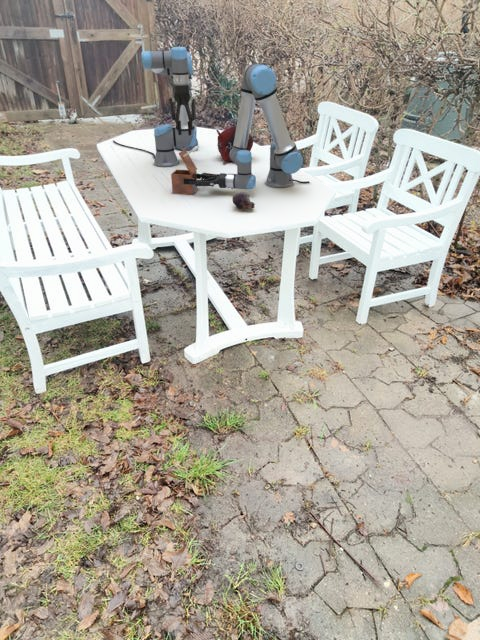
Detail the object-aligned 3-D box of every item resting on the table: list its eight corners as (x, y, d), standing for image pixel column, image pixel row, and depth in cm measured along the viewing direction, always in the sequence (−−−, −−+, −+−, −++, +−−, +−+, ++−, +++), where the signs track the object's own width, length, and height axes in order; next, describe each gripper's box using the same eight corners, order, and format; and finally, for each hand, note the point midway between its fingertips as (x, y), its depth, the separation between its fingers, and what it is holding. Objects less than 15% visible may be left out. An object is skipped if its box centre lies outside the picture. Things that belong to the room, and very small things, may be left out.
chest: (172, 193, 246) (170, 174, 240) (177, 188, 254) (176, 169, 248) (192, 194, 244) (191, 175, 238) (197, 189, 252) (196, 170, 246)
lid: (178, 153, 233) (191, 145, 230) (183, 149, 240) (196, 141, 237) (190, 174, 238) (203, 167, 235) (195, 169, 245) (208, 163, 242)
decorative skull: (214, 132, 305) (214, 129, 282) (248, 124, 304) (250, 121, 281) (221, 164, 312) (221, 164, 288) (254, 157, 311) (257, 156, 288)
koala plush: (198, 150, 320) (196, 121, 309) (173, 151, 319) (170, 122, 308) (198, 145, 335) (196, 116, 324) (174, 145, 334) (171, 117, 322)
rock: (245, 206, 232) (228, 209, 228) (244, 189, 228) (227, 192, 224) (257, 209, 223) (239, 213, 218) (256, 192, 219) (238, 195, 215)
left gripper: (161, 84, 217) (166, 135, 230) (196, 85, 214) (199, 137, 227) (166, 82, 223) (171, 132, 236) (200, 83, 220) (203, 133, 233)
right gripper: (222, 194, 234) (180, 191, 238) (231, 181, 252) (192, 179, 255) (221, 180, 230) (179, 177, 234) (231, 168, 247) (191, 166, 251)
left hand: (185, 134), depth 232 cm, fingers open, 5 cm apart
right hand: (186, 178), depth 245 cm, fingers closed on chest, 9 cm apart
